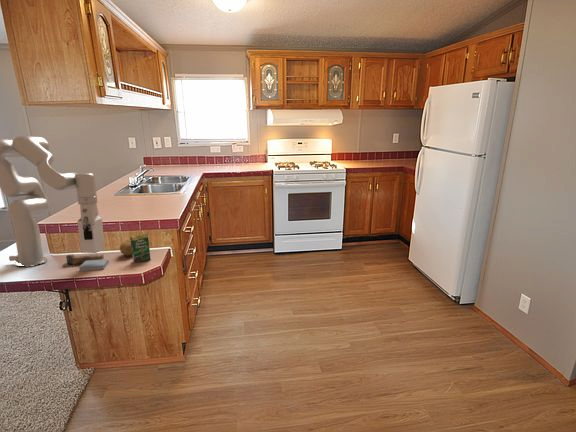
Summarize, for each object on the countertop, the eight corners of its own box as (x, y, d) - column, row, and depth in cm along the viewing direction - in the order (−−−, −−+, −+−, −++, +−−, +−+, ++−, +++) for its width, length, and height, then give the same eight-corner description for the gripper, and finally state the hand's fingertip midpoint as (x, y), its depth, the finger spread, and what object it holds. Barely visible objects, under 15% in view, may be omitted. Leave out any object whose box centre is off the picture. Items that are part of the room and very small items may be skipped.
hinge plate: (60, 267, 159) (60, 266, 159) (65, 262, 165) (65, 262, 165) (76, 266, 160) (76, 265, 160) (81, 261, 167) (81, 261, 167)
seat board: (79, 271, 154) (79, 266, 154) (86, 264, 163) (85, 260, 162) (103, 269, 157) (103, 265, 156) (108, 262, 165) (108, 259, 165)
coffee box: (133, 263, 165) (131, 237, 163) (132, 261, 167) (130, 236, 165) (150, 260, 170) (148, 235, 167) (149, 258, 172) (147, 233, 170)
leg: (66, 264, 161) (65, 256, 160) (68, 262, 164) (67, 254, 163) (102, 261, 165) (101, 254, 165) (104, 259, 168) (103, 252, 168)
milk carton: (105, 249, 161) (101, 210, 158) (95, 253, 154) (91, 212, 151) (91, 248, 162) (86, 209, 158) (80, 252, 155) (76, 212, 151)
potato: (114, 258, 172) (112, 243, 171) (130, 250, 186) (129, 236, 184) (132, 259, 171) (130, 244, 169) (146, 251, 185) (145, 237, 183)
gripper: (90, 202, 146) (95, 241, 150) (102, 197, 163) (105, 232, 166) (71, 203, 144) (76, 242, 148) (84, 198, 161) (88, 233, 164)
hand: (91, 236), depth 157 cm, fingers closed on milk carton, 8 cm apart
